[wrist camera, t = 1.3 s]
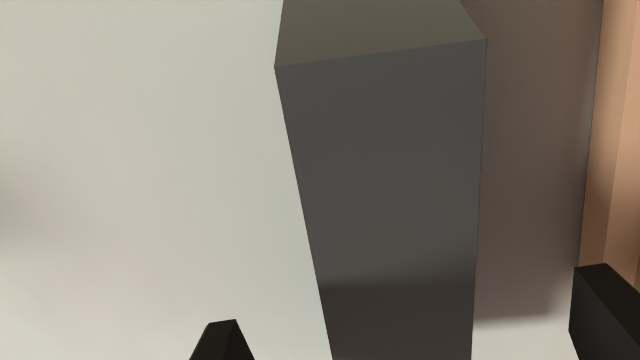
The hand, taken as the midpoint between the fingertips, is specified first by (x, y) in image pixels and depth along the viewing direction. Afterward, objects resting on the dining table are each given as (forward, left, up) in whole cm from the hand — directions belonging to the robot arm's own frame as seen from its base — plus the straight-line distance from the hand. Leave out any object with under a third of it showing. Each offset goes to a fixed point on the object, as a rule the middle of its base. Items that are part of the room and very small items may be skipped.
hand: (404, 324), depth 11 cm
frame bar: (0, 0, -5) cm, 5 cm away
